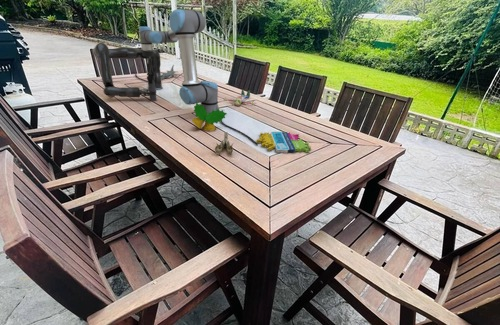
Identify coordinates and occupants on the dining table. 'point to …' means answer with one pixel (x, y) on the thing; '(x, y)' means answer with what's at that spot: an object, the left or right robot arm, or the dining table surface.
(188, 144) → the dining table surface
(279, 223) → the dining table surface
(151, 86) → the jar
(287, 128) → the dining table surface
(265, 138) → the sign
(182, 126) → the dining table surface
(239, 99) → the toy
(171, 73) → the airplane
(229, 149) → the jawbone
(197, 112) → the ornament
